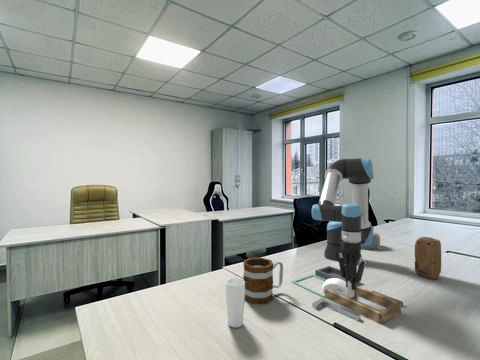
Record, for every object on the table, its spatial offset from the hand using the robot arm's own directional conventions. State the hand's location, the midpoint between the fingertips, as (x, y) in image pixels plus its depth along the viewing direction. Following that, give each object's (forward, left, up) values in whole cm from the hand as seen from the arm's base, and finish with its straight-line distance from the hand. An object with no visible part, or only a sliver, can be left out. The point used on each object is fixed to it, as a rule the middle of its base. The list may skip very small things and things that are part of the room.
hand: (350, 296), depth 106 cm
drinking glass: (-13, -50, -2) cm, 52 cm away
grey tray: (-17, +14, -2) cm, 22 cm away
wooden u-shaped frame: (+4, 0, -2) cm, 5 cm away
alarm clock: (-42, +84, -2) cm, 94 cm away
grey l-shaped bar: (+3, -15, -2) cm, 15 cm away
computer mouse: (-7, +1, -2) cm, 7 cm away
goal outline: (-17, 0, -2) cm, 17 cm away
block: (+7, +57, -2) cm, 57 cm away
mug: (-24, -28, -2) cm, 37 cm away
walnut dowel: (+8, +13, -2) cm, 15 cm away
